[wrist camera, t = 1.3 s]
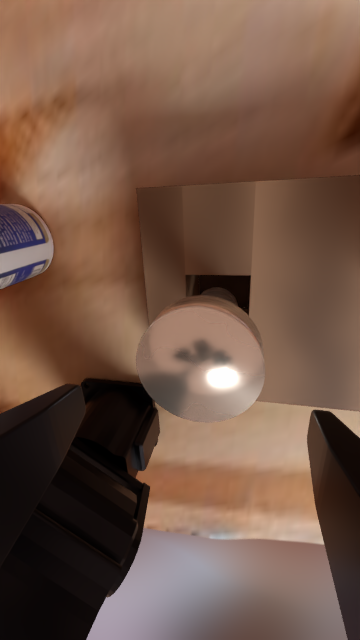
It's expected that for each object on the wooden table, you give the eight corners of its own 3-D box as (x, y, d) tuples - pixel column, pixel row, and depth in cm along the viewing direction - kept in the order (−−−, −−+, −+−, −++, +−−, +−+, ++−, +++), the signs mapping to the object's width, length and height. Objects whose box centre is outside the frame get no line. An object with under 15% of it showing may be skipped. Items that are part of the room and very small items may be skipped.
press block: (171, 356, 23) (155, 390, 19) (161, 190, 18) (136, 188, 14) (438, 376, 19) (489, 424, 15) (510, 170, 14) (612, 160, 10)
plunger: (178, 341, 17) (142, 414, 11) (174, 266, 15) (129, 307, 9) (257, 346, 16) (260, 429, 10) (262, 266, 14) (270, 312, 8)
